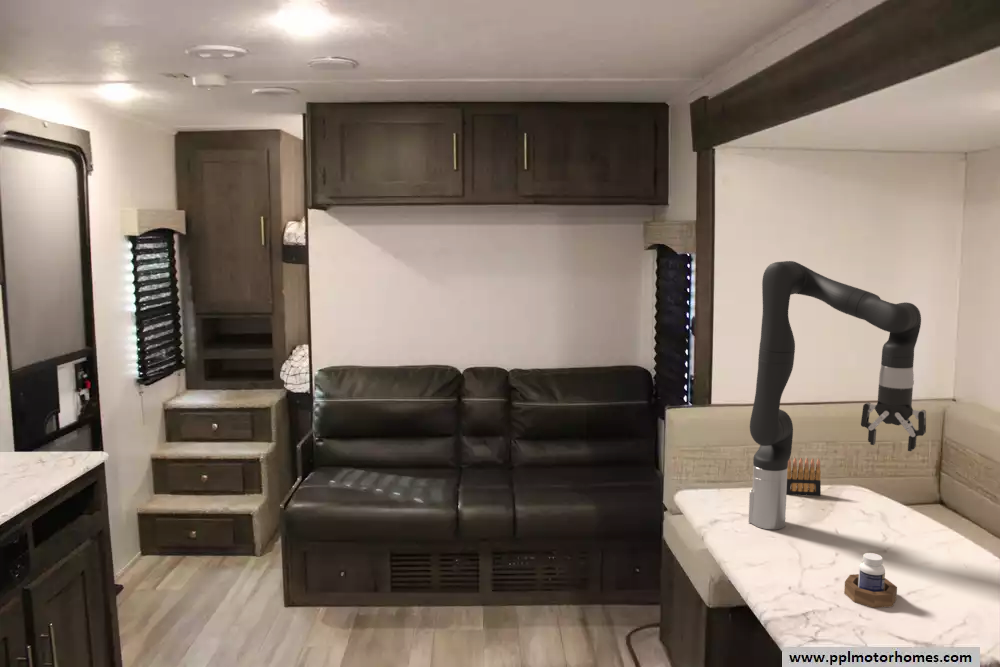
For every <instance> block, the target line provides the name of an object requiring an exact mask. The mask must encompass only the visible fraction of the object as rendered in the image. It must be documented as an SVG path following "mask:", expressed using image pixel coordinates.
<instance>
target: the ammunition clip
mask: <svg viewBox="0 0 1000 667" xmlns="http://www.w3.org/2000/svg"><path fill="white" fill-rule="evenodd" d="M797 463H798V464H797ZM809 465H810V466H809ZM815 465H816V466H815ZM821 474H822V471H821V460H820V458H817V460H816V464H815V459H814V457H812V458H811V460H810V464H809V459H808V457H806V458H805V461H804V463H803V458H802V457H800V459H799V461H798V462H797V458H796V457H794V458H793V462H792V461H791V458H790V459H789V461H788V470H787V493H786V496H788V495H789V496H811V497H812V496H813V497H821V494H822V493H821V492H822V490H821V489H822V488H821V477H822V476H821Z"/></svg>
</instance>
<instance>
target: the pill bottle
mask: <svg viewBox="0 0 1000 667" xmlns="http://www.w3.org/2000/svg"><path fill="white" fill-rule="evenodd" d="M882 564H883V557H882V556H881V555H880V554H877V553H873V552H866V553H864V554H863V558H862V562H861V563H860V564H859V567H858V568H859V569H858V574H859V580H858V587H859V588H861V589H865V590H868V591H872V592H882V591H884V581H885V578H886V568H885V567H884V566H883V565H882Z"/></svg>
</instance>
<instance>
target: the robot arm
mask: <svg viewBox="0 0 1000 667" xmlns="http://www.w3.org/2000/svg"><path fill="white" fill-rule="evenodd" d="M761 280H762V283H761V284H762V285H761V286H762V287H761V288H762V296H761V297H762V316H761V317H762V318H761V327H760V328H761V330H760V331H761V332H760V340H759V347H758V348H759V350H758V362H757V365H758V366H757V373H756V374H757V377H756V386H755V395H754V401H753V405H752V411H751V416H750V420H749V432H750V435H751V438H752V439H753V441H754V442H755V443H756V444H758V445H759V447H758V449H757V451H756V452H755V453H754V456H753V461H752V462H753V463H752V466H753V467H752V489H751V490H750V491H749V498H748V499H749V505H748V524H752V525H753V526H755V527H758V528H760V529H764V530H781V529H783V528H785V526H786V518H787V517H786V516H787V515H786V510H787V495H786V493H787V470H788V461H789V459H790V460H791V455H792V449H793V448H792V447H793V436H794V426H793V425H794V424H793V421H792V418H791V417H790V415H789V414H788V413H787V412H786V411H785V410H782V409H780V405H781V399H782V396H783V393H784V391H785V389H786V386H787V384H788V381H789V379H790V377H791V375H792V371H793V369H794V362H795V352H796V341H795V337H794V332H793V330H792V326H791V323H790V318H789V307H790V300H791V296H792V295H794V294H795V295H801V296H807V297H812V298H814V299H817V300H819V301H821V302H823V303H825V304H827V305H829V306H830V307H831V308H833V309H834V310H836V311H839V312H841V313H843V314H846V315H848V316H852V317H854V318H857V319H860V320H863V321H865V322H867V323H869V324H871V325H872V326H874V327H876V328H878V329H880V330H882V331H885V332H888V333H889V334H888V339H887V341H886V342H885V343H884V344H883V346H882V351H881V363H880V368H879V369H880V370H879V377H878V391H877V403H876V404H873V403H871V402H869V401H867V402H865V403H864V404H863V406H862V411H861V412H862V415H861V420H860V425H861V427H862V428H866V429H867V430H868V435H867V441H868V443H869V444H870V445H871V446H875V444H876V440H877V429H876V428H877V426H879V425H880V424H881V423H882V422H883V423H885V425H886V424H887V425H895V426H902V427H903V428H904V430H906V432H907V433H908V435H909V436H908V443H907V452H913V450H915V449H916V446H917V438H918V437H919V436H920V437H922V436H924V435H925V434H926V433H927V411H926V410H925V409H921V410H919V409H917V410H916V409H913V407H912V406H913V404H912V403H913V389H914V384H915V383H914V382H915V380H914V375H915V374H914V360H915V348H916V344H917V342H918V339H919V335H920V334H919V333H920V330H921V325H922V315H921V311H920V309H919V308H918V307H917V306H916V305H915V304H913V303H912V302H899V303H893V302H889V301H886V300H884V299H882V298H881V297H880V296H879V295H877V294H875V293H872V292H871V291H867V290H864V289H862V288H858V287H855V286H853V285H848V284H846V283H842V282H840V281H837V280H834V279H832V278H829V277H826V276H824V275H822V274H820V273H818V272H816V271H814V270H812V269H810V268H809V267H807V266H804V265H803V264H801V263H799V262H797V261H794V260H793V261H792V260H785V261H777V262H772V263H770V264H769V265H767V267H766V269H765V270H764V272H763V275H762V279H761ZM873 410H875V412H876V413H877V415H878V417H877V418H876V419H875V420H874V421H873V422H870V414H871V413H872V412H873ZM912 416H914V417H915V419H916V420H918V421H917V422H918V425H917V426H918V428H915V426H914V424H913V423H912V421H911V420H910V418H911V417H912Z"/></svg>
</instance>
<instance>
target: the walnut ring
mask: <svg viewBox="0 0 1000 667" xmlns="http://www.w3.org/2000/svg"><path fill="white" fill-rule="evenodd" d="M858 580H859V573H857V574H855V573H853V574H849V576H847V578H846V579H845V580H844V591H843V592H844V593H843V594H844V595H846V596H847V598H849V600H851V602H854V603H856V604H859V605H862V606H865V607H871V608H874V609H878V608H889V607H890V608H892V607H893V606H894V604H895V602H896V601H897V596H898V586H897V585H895V584H894V583H893V582H891V581H890V580H889V579H888V578H886V577H885V581H884V591H882V592H872V591H868V590H865V589H861V588H859V587H858Z"/></svg>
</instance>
